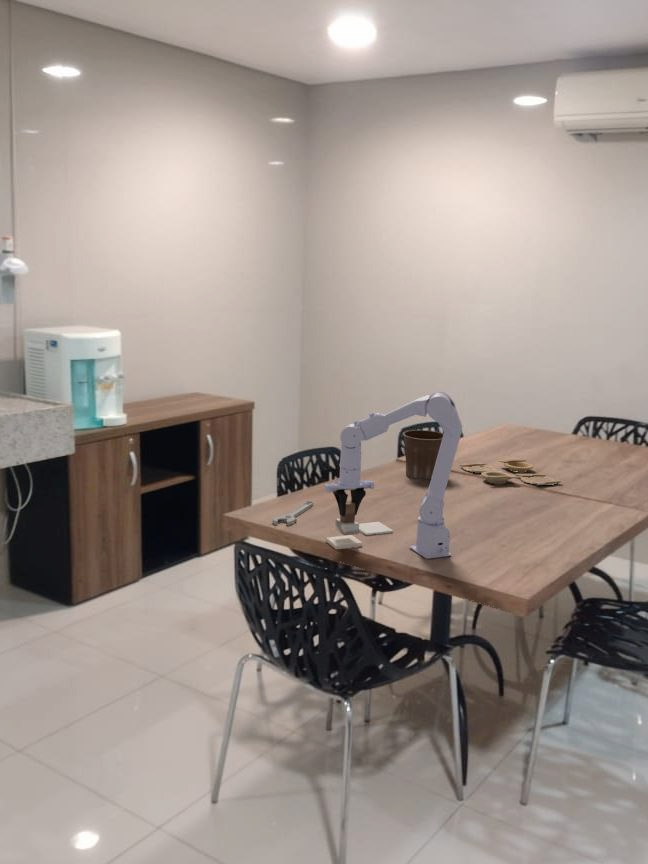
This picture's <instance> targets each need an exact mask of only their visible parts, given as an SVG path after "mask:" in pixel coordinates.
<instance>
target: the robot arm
mask: <svg viewBox="0 0 648 864" xmlns="http://www.w3.org/2000/svg"><path fill="white" fill-rule="evenodd" d="M456 407H457V406H456V403H455V402H454V400H453V399H452V398H451V396H449V394H447V393H446V392H444V391H436V392H433V393H432V394H431V395H430V394H428V395H424V396H422V397H419V398H416V399H415V400H412V401H409V402H408V403H406V404H404V405H401V406H399V407H397V408H396V409H394V410H391V411H389V412H387V413H385V414H384V413H381V412H374V411H373V412H371V413H369V416H367V417H365V418H363V419H361V420H357V419H356V420H355V421H353V423H349V424H347V425H346V426H345V427H344V428H343V430H342V431H341V433H340V435H339V439H340V441H341V446H340V447H341V448H340V449H341V450H340V457H339V458H340V460H339V463H340V464H339V467H340V468H339V481H336V482H331V483H325V484H324V487H323V488H324V492H325V493H329V494H330V493H331V492H332V493H333V495H334V498H335V501H336V503H337V506H338V512H339V516H340V515H341V516H343V517H344V516H345V513H346V501H348V497H349V495H348V493H347V491H350V497H351V499H350V500H351V501H352V502H354V503H356V504H355V516H357V514H358V511H359V508H360V506H361V503H362V501H363V500H364V498H365V497H366V494H367V491H366V490H365V489H370V490H371V489H373V490H374V489H375V481H373V480H361V471H362V469H361V467H362V441H365V442H366V441H369V440H371V439H373V438H375V437H377V436H380V435H383V434H384V433H387V432H388V430H389V427H390V426H392V425H393V424H396V423H398V422H401V421H403V420H406V419H408V418H410V417H413V416H420V417H423V418H425V417H427V414H428V416H429V417H430V418H431V419H432V420H434V421H435V423H436V422H437V424H438V425H439V426H440V428H441V429H442V431H443V438H442V442H441V445H440V449H439V453H438V456H437V460H436V464H435V467H434V471H433V475H432V478H431V480H430V483H429V485H428V489H427V492H426V494H425V495H423V496H422V498H421V501H420V508H419V512H418V514H419V516H418V517H417V527H416V540H415V541H416V542H415V545H410V546H409V549H410V550H413V552H416V553H417V554H419V555H420V556H422V557H424V559H427V560H428V559H437V558H443V557H450V556H452V553H451V552H450V540H451V533H450V531H449V528H447V527H446V525H445V518H444V516H443V515H444V510H443V509H444V505H445V503H444V502H445V501H444V498H445V493H446V488H447V485H448V482H449V478H450V474H451V471H452V468H453V465H454V464H453V463H454V460H455V456H456V453H457V450H458V448H459V447H458V446H459V442H460V439H461V435H462V432H463V425H462V421H461V418H460V416H459V413H458V410H457V408H456Z"/></svg>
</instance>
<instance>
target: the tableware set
mask: <svg viewBox="0 0 648 864" xmlns="http://www.w3.org/2000/svg"><path fill="white" fill-rule="evenodd" d="M498 462H499V463H502V464H503V466H504V467H506V468H507V469H508V471H509V470H512V471H518V472H525V471H527V472H528V471H529V470H532V469H534V464H532V463H529V462H527V459H526V458H521V459H518V458H517V459H499V460H498ZM472 466H480V467H487V468H490V469H492V470H487V469H485V470H471V469H469V467H472ZM459 467H462V469H463V470H464V471H465V470H466V472H468V471H470V472H469V473H473V472H475V473H474V474H479V473H481V474H480V475H481V476H482V477H483V478H485V480H486V483H488V482H490V483H489V484H492V483H494V484H493V485H504V483H505V484H506V483H507V482H508V481H509V480H512V479H518V477H520V481H521V480H522V481H523V482H522V481H521V482H522V483H524V482H526V483H525V484H527V483H530V484H529V485H532V484H537V485H536V486H539V485H552V484H555V483H557V484H558V483H562V480H561V479H555V480H553V479H554V478H552V477H548V476H547V475H546V474H545V473H515V474H510V473H507V472H504V471H502V470H498V469H497V468H496V467H494V466H490V465H487V463H486V462H482V461H480V462H479V461H477V462H475V463H462V464H459ZM530 477H541V478H547V479H550V480H551V481H546V482H532V481H529V480H527V478H530Z"/></svg>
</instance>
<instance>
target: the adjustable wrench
mask: <svg viewBox="0 0 648 864" xmlns="http://www.w3.org/2000/svg"><path fill="white" fill-rule="evenodd" d="M310 507H311V508H312V507H314V501H312V500H308V501H307V500H306V501H305V502H304V503H302V504H300V505H299V506H297V507H295V508H294V509H293V510H291V511H290V512H288V513H286V514H283V515H278V516H275V517H273V518H272V524H273V525H275V526H278V524H279V522H280V523H286V526H287V525H289V526H292V525H291V524H293V525H294V524H295V522H297V523H298V518H297V517H298V516H300V515H301V514H303V513H305V512H306V511H308V510H309V509H311V508H310ZM299 514H300V515H299ZM296 516H297V517H296Z"/></svg>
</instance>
